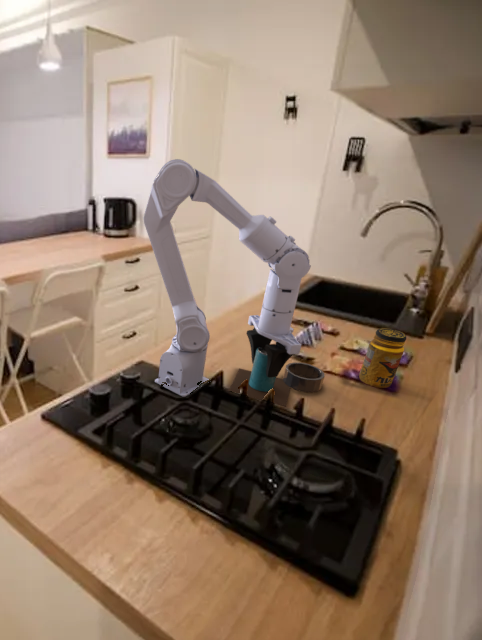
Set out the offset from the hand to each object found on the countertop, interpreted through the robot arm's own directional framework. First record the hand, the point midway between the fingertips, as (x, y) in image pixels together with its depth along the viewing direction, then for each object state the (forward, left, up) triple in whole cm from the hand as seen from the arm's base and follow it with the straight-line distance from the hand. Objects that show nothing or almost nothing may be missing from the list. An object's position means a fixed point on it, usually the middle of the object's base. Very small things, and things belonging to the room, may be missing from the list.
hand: (264, 369), depth 83 cm
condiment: (+21, -14, -5) cm, 26 cm away
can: (0, 0, -4) cm, 4 cm away
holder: (+8, -5, -4) cm, 10 cm away
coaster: (0, 0, -4) cm, 4 cm away
